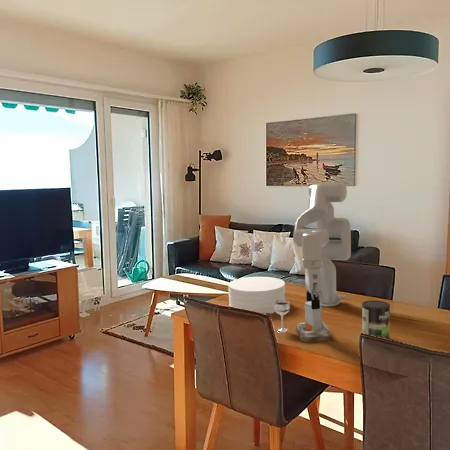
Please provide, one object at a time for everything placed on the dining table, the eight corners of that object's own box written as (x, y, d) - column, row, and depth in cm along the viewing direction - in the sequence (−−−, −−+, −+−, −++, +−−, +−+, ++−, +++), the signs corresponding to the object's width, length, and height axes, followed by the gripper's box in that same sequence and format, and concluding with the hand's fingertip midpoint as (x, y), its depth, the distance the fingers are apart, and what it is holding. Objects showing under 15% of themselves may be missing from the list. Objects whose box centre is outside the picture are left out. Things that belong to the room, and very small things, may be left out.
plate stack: (284, 297, 235) (283, 276, 233) (286, 314, 207) (286, 290, 206) (231, 298, 238) (230, 277, 236) (226, 315, 210) (225, 291, 209)
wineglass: (280, 326, 192) (279, 299, 191) (293, 329, 188) (292, 301, 186) (271, 331, 187) (270, 303, 185) (285, 334, 183) (284, 305, 181)
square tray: (324, 329, 186) (324, 321, 186) (332, 340, 174) (331, 331, 174) (296, 330, 186) (296, 322, 186) (301, 341, 174) (301, 333, 174)
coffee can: (395, 339, 173) (395, 304, 171) (379, 346, 167) (379, 310, 165) (372, 332, 181) (372, 298, 179) (356, 338, 175) (356, 303, 173)
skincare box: (304, 330, 182) (304, 302, 180) (313, 328, 183) (313, 300, 182) (313, 335, 176) (312, 306, 175) (322, 333, 178) (321, 304, 176)
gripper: (326, 268, 168) (327, 311, 170) (316, 258, 185) (317, 297, 188) (306, 269, 168) (307, 312, 170) (298, 258, 185) (299, 298, 188)
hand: (313, 304), depth 179 cm, fingers open, 9 cm apart
